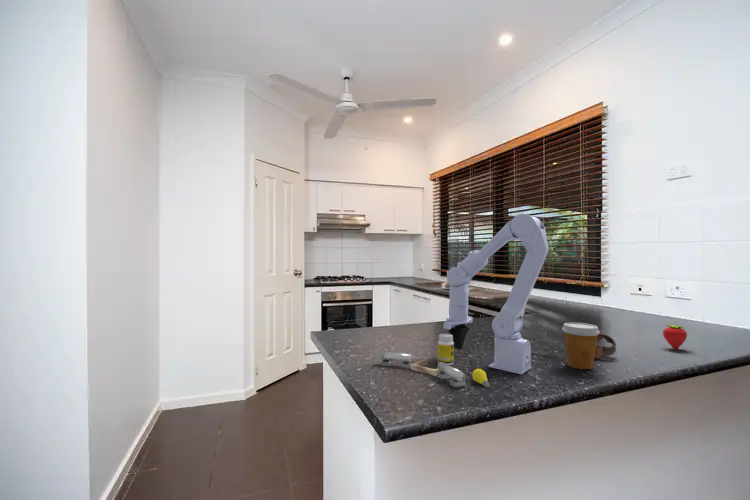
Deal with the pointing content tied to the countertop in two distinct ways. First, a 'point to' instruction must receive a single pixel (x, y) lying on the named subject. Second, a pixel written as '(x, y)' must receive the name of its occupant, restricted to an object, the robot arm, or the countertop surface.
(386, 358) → the grey bar handle
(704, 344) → the countertop surface
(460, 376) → the shaft
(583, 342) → the disposable coffee cup
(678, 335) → the strawberry
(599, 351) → the pottery mug
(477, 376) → the light bulb
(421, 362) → the coupling seat
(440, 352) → the supplement bottle
